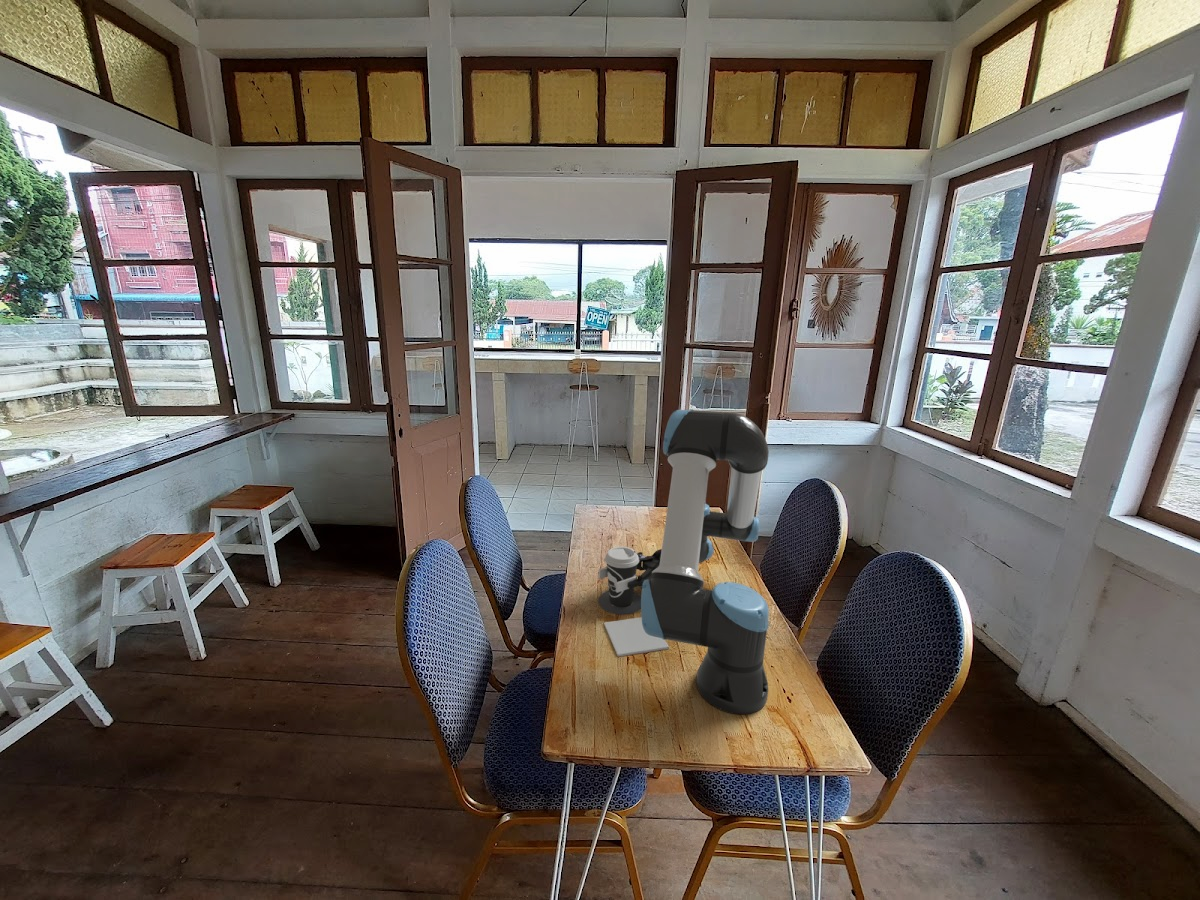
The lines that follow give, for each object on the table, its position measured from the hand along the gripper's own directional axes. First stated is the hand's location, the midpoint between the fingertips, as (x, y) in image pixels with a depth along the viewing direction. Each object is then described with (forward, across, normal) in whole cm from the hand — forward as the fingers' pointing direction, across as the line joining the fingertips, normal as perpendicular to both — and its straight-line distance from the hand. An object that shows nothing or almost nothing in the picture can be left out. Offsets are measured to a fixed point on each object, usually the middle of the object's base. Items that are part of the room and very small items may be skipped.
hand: (607, 580), depth 136 cm
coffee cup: (-5, 0, -8) cm, 9 cm away
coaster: (-5, 0, -8) cm, 9 cm away
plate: (+2, -15, -8) cm, 17 cm away
